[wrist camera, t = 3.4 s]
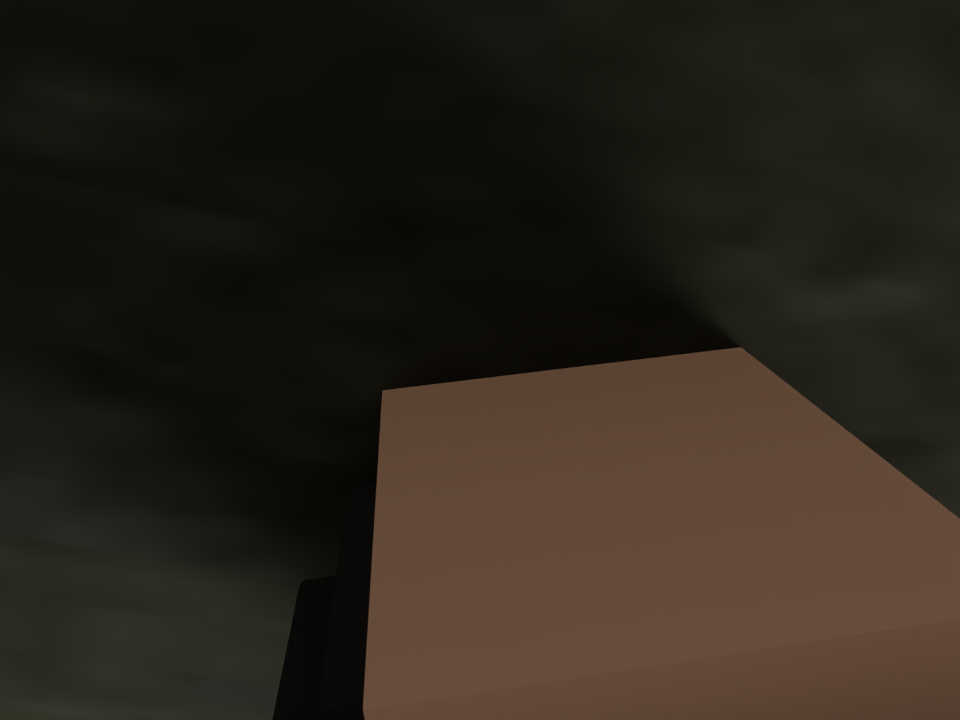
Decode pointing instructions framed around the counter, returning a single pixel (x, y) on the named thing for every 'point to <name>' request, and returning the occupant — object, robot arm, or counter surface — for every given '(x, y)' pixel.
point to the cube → (651, 554)
